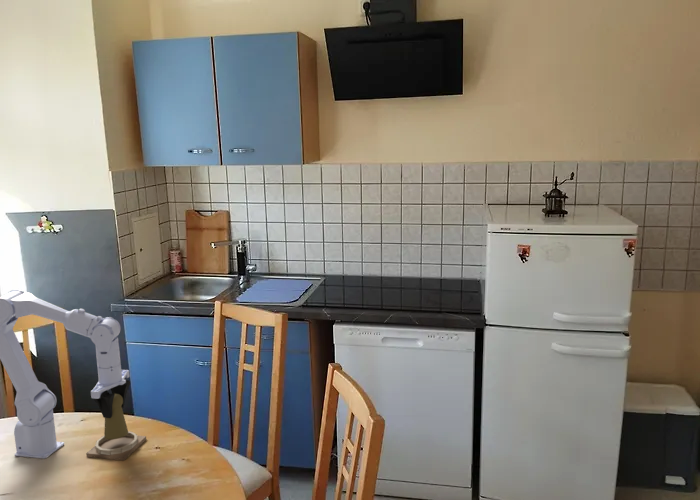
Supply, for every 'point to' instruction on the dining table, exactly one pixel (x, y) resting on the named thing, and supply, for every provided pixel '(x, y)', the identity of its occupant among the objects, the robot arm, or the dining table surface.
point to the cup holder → (116, 447)
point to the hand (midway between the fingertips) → (113, 412)
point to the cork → (116, 420)
